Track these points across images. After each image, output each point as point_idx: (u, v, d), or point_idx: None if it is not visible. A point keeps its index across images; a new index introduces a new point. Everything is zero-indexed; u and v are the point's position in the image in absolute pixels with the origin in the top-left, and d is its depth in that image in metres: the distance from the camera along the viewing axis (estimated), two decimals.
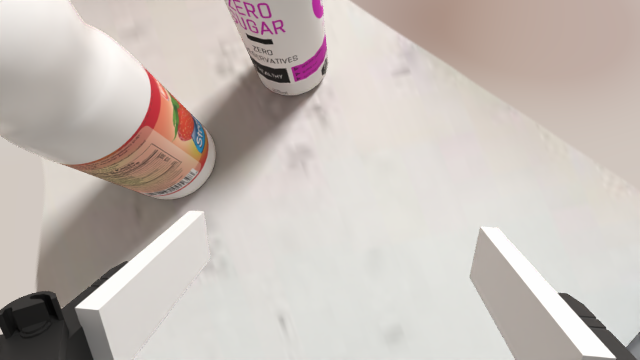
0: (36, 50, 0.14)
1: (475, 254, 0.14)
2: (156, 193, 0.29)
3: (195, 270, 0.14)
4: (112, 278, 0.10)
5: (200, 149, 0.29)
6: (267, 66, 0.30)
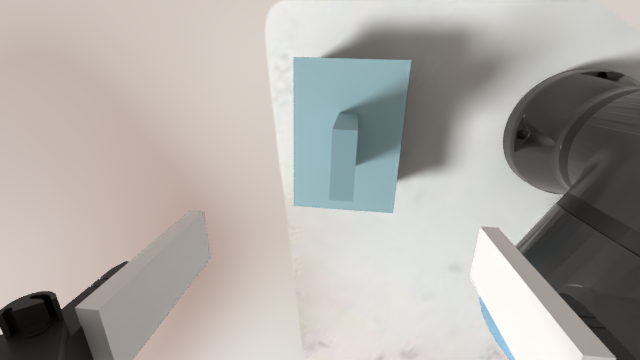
0: None
1: (475, 254, 0.14)
2: None
3: (195, 270, 0.14)
4: (112, 278, 0.10)
5: None
6: None
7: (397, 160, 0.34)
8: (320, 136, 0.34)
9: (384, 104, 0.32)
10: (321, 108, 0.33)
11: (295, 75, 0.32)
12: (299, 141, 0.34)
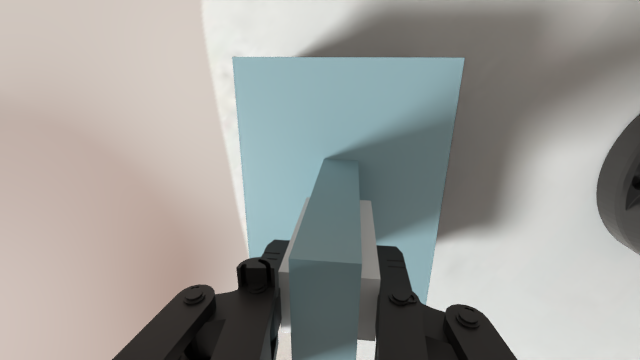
0: None
1: None
2: None
3: None
4: (288, 250, 0.12)
5: None
6: None
7: (432, 240, 0.19)
8: (292, 200, 0.19)
9: (409, 143, 0.17)
10: (291, 151, 0.18)
11: (238, 91, 0.17)
12: (255, 208, 0.19)
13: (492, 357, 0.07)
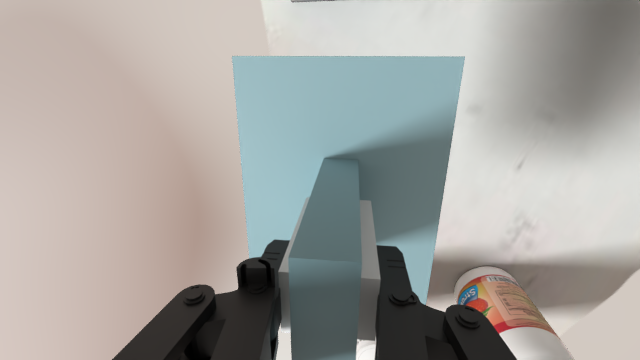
0: None
1: None
2: (517, 285, 0.43)
3: None
4: (289, 250, 0.12)
5: (474, 287, 0.43)
6: None
7: (432, 239, 0.19)
8: (292, 199, 0.19)
9: (409, 142, 0.17)
10: (290, 150, 0.18)
11: (238, 90, 0.17)
12: (255, 207, 0.19)
13: (492, 356, 0.07)
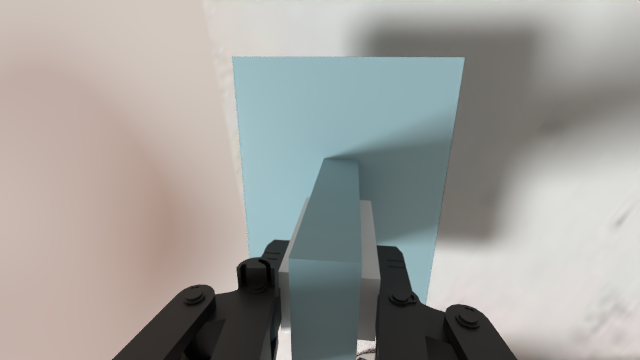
0: None
1: None
2: None
3: None
4: (289, 250, 0.12)
5: None
6: None
7: (432, 239, 0.19)
8: (292, 200, 0.19)
9: (409, 143, 0.17)
10: (290, 151, 0.18)
11: (238, 91, 0.17)
12: (255, 207, 0.19)
13: (492, 356, 0.07)
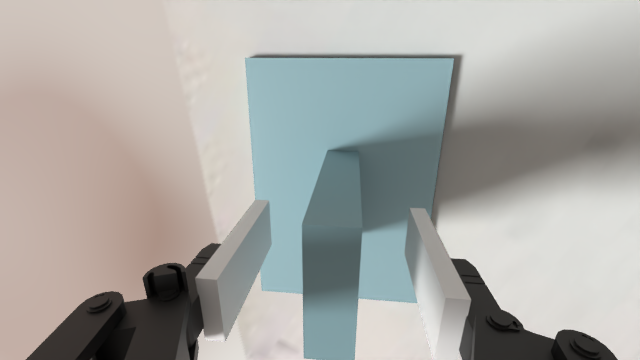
0: None
1: (407, 232, 0.16)
2: None
3: (263, 254, 0.15)
4: (215, 255, 0.11)
5: None
6: None
7: None
8: (298, 188, 0.20)
9: (404, 136, 0.19)
10: (297, 143, 0.19)
11: (250, 88, 0.19)
12: (264, 196, 0.21)
13: None
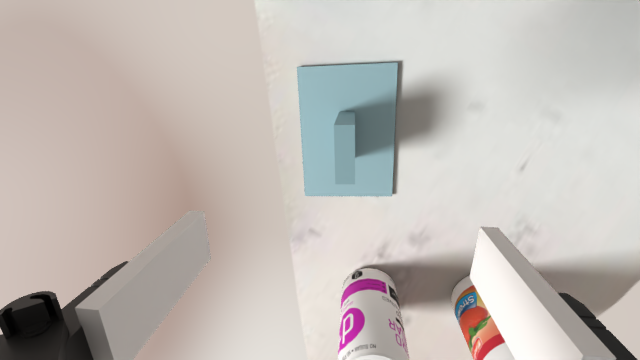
0: None
1: (475, 254, 0.14)
2: None
3: (195, 270, 0.14)
4: (112, 278, 0.10)
5: (473, 294, 0.41)
6: (398, 305, 0.41)
7: (392, 149, 0.39)
8: (324, 133, 0.39)
9: (377, 101, 0.37)
10: (323, 109, 0.38)
11: (299, 82, 0.37)
12: (306, 139, 0.40)
13: None
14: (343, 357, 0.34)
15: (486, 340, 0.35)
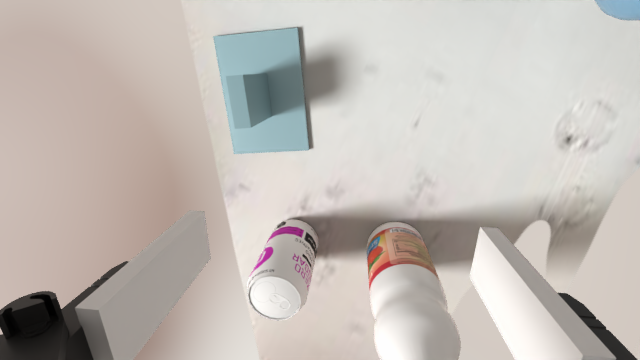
0: (400, 310, 0.32)
1: (475, 254, 0.14)
2: (417, 236, 0.46)
3: (195, 270, 0.14)
4: (112, 278, 0.10)
5: (378, 238, 0.47)
6: (311, 248, 0.47)
7: (303, 106, 0.44)
8: None
9: (284, 64, 0.43)
10: (240, 73, 0.44)
11: (216, 50, 0.43)
12: (229, 101, 0.45)
13: None
14: (249, 282, 0.39)
15: (375, 270, 0.41)
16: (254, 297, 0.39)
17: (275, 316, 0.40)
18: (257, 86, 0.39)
